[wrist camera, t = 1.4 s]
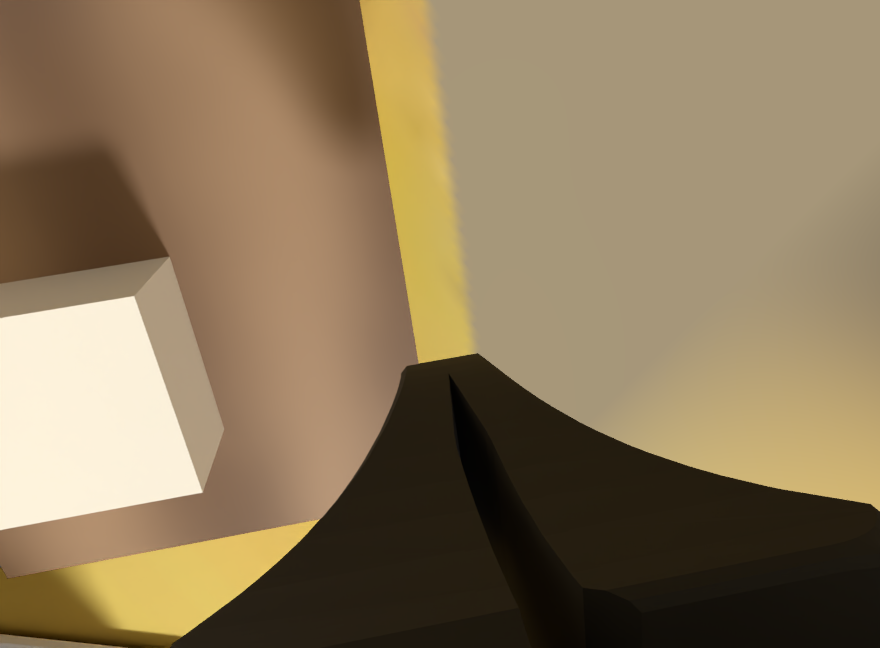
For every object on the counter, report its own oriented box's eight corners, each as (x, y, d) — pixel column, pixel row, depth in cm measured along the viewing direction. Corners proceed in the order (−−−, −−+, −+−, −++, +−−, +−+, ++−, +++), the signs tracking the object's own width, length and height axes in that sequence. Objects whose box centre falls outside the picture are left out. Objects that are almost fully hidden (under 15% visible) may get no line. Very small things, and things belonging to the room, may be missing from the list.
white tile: (169, 256, 14) (133, 296, 12) (224, 429, 16) (202, 492, 14) (-43, 290, 14) (-122, 337, 11) (38, 462, 15) (-17, 533, 13)
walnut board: (282, -444, 12) (263, -590, 9) (428, 435, 20) (440, 496, 17) (-361, -384, 11) (-587, -524, 9) (56, 504, 19) (7, 578, 17)
